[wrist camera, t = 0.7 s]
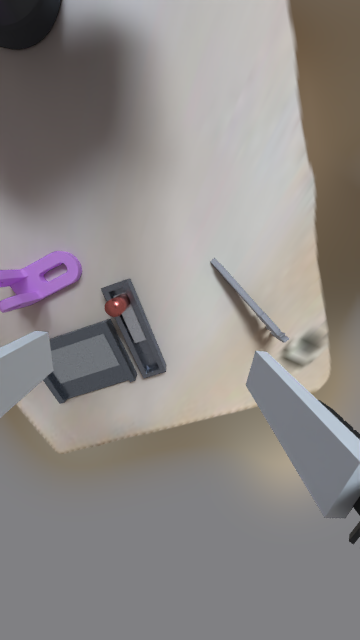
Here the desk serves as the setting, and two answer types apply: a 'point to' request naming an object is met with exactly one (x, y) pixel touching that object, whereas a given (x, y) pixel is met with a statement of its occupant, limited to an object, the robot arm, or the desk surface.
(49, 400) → the desk surface
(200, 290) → the desk surface
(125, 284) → the frame
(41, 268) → the bracket
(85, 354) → the press bed
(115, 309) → the lever
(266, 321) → the caliper
